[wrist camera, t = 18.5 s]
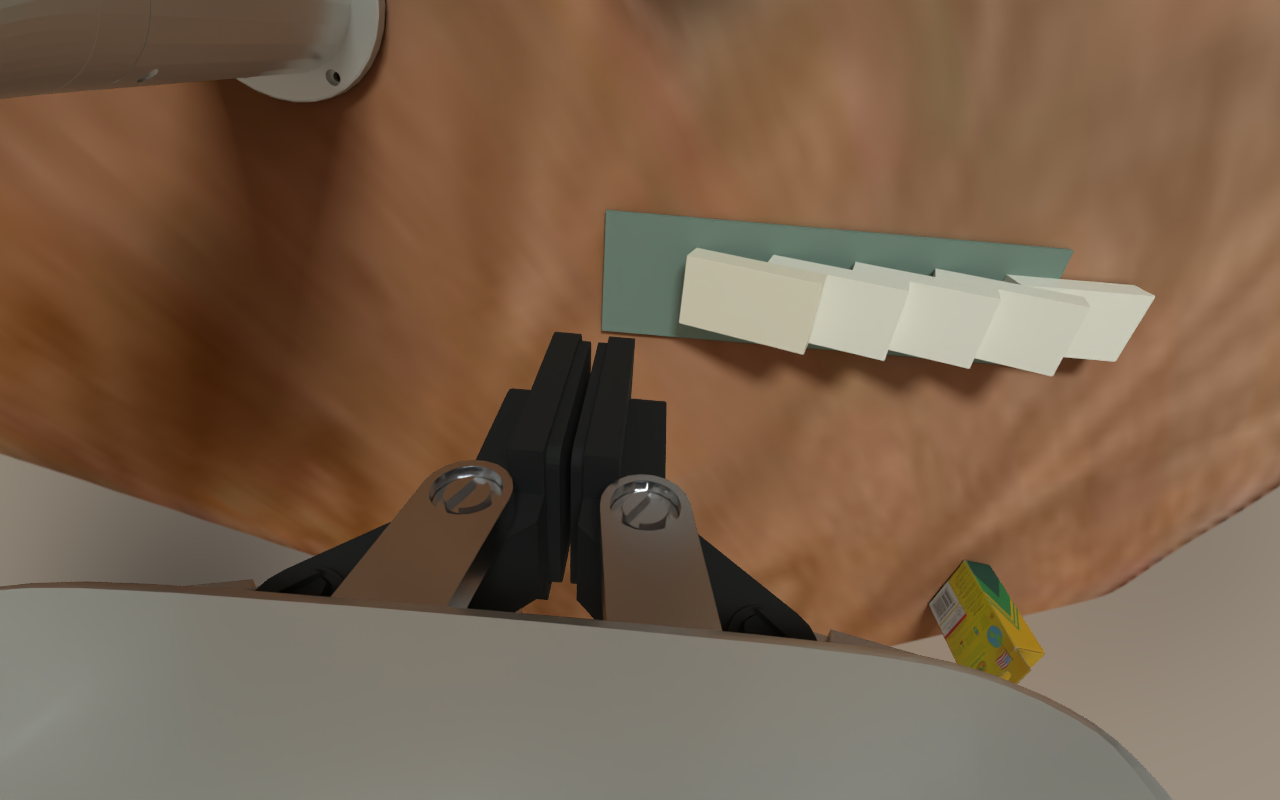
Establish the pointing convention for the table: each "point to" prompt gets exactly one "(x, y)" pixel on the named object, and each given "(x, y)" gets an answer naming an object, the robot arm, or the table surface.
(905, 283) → the domino
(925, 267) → the plate
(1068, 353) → the domino
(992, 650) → the crayon box
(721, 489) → the table surface
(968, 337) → the domino
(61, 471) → the table surface
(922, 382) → the table surface
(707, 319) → the domino
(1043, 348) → the domino
